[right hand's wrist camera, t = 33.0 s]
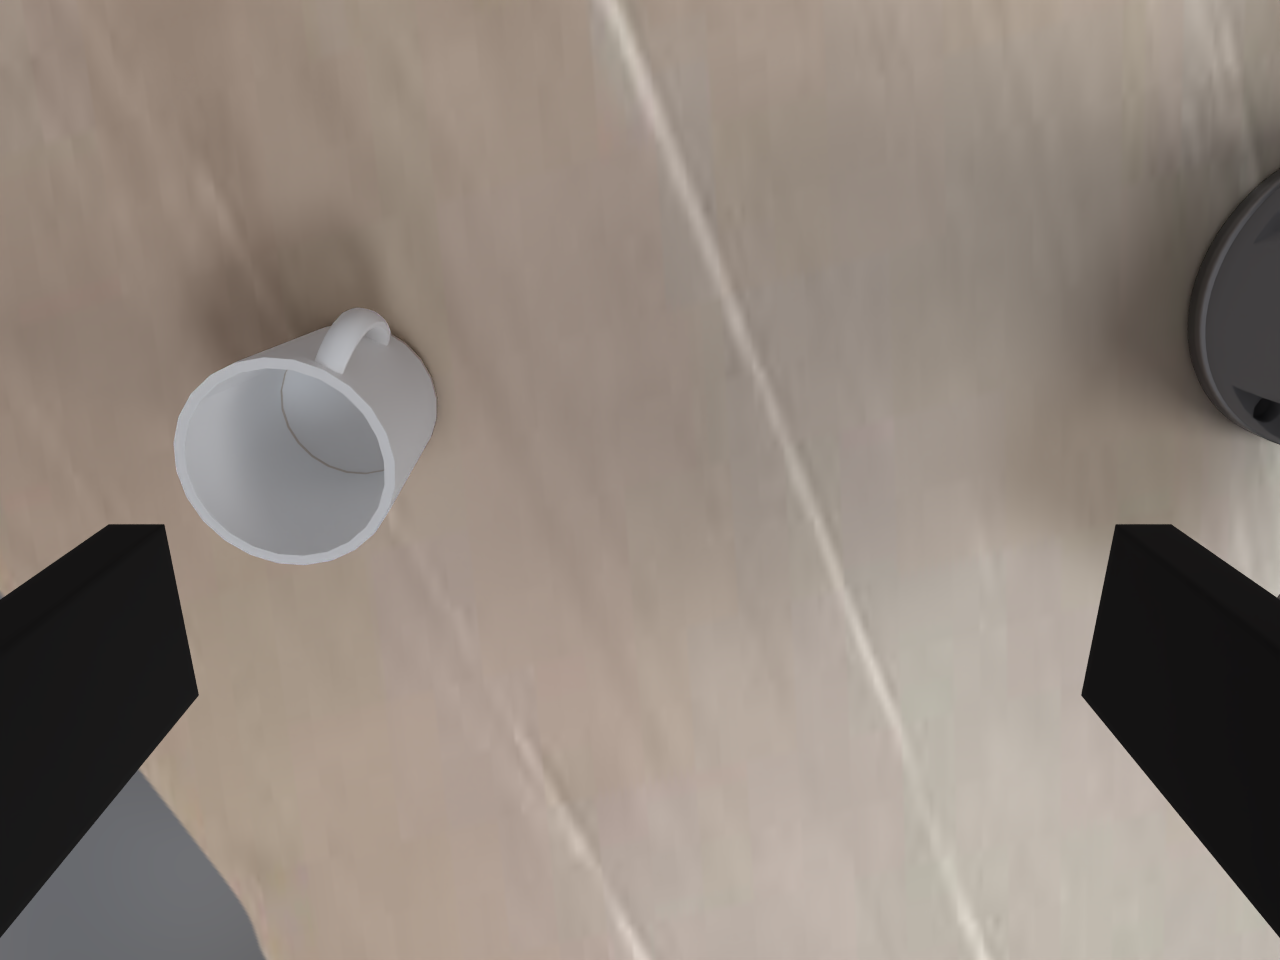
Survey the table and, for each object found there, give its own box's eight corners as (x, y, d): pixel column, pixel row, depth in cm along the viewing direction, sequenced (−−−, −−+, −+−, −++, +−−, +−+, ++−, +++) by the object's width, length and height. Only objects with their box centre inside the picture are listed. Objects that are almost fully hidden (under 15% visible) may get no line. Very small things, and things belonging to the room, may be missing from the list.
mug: (408, 508, 48) (349, 598, 38) (249, 435, 46) (146, 509, 36) (491, 326, 44) (449, 374, 35) (322, 242, 43) (229, 267, 33)
